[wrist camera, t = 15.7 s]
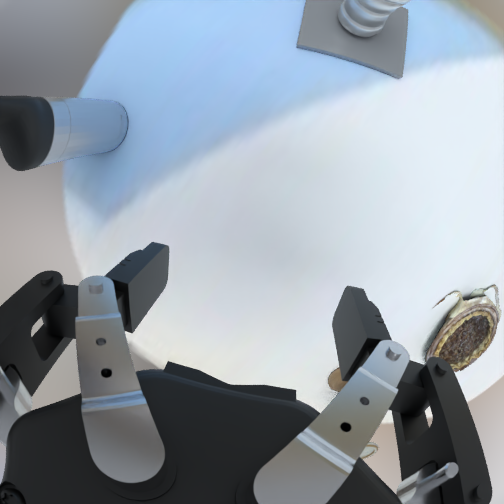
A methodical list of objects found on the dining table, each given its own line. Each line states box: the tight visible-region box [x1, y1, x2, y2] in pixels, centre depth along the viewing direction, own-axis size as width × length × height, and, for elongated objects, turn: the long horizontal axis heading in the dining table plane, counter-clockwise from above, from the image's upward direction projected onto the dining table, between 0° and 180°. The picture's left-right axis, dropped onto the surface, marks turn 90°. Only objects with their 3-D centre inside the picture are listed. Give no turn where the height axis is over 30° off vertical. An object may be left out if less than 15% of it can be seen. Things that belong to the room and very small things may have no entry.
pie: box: [425, 285, 501, 372], centre depth 45 cm, size 28×27×5 cm
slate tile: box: [297, 0, 408, 79], centre depth 27 cm, size 16×14×2 cm
